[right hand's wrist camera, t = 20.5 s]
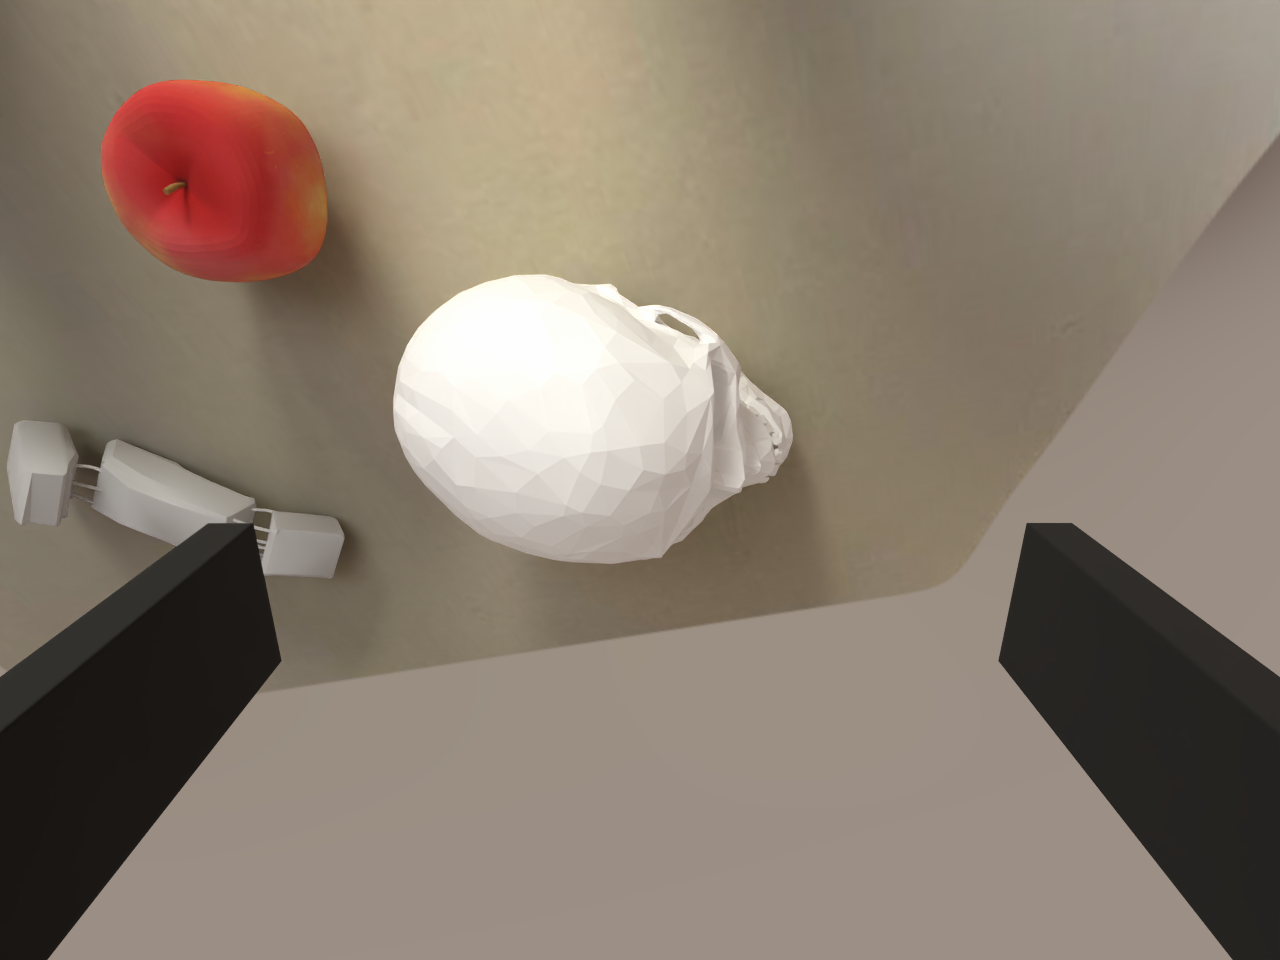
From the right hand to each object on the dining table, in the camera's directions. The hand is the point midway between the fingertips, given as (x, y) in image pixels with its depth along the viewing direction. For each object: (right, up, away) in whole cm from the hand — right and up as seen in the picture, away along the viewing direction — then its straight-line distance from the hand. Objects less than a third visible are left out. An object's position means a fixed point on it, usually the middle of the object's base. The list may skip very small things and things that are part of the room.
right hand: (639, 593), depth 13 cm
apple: (-20, +18, +29) cm, 40 cm away
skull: (-1, +7, +33) cm, 34 cm away
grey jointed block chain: (-29, +1, +35) cm, 45 cm away
